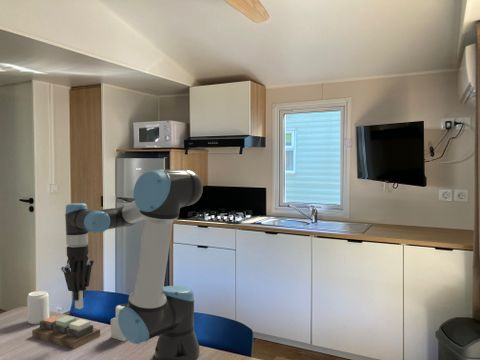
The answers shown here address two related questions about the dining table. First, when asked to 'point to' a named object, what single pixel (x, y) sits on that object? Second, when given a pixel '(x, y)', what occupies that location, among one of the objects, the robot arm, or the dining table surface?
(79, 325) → the cream button
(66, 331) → the button panel
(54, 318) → the terracotta button
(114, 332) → the medicine bottle
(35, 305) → the white canister
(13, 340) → the dining table surface
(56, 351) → the dining table surface
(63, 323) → the sage button
